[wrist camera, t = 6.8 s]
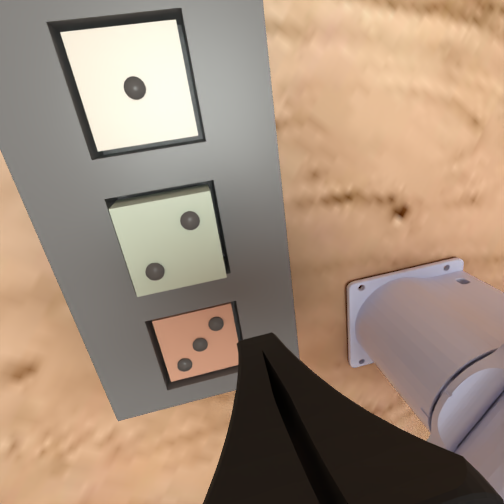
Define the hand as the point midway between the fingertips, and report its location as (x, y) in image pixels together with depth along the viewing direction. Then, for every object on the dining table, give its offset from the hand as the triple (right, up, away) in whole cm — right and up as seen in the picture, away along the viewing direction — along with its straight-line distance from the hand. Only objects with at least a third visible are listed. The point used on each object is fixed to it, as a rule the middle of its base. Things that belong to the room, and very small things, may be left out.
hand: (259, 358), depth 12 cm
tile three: (-4, -1, +9) cm, 10 cm away
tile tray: (-5, +6, +8) cm, 11 cm away
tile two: (-4, +5, +6) cm, 9 cm away
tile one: (-6, +12, +4) cm, 14 cm away
